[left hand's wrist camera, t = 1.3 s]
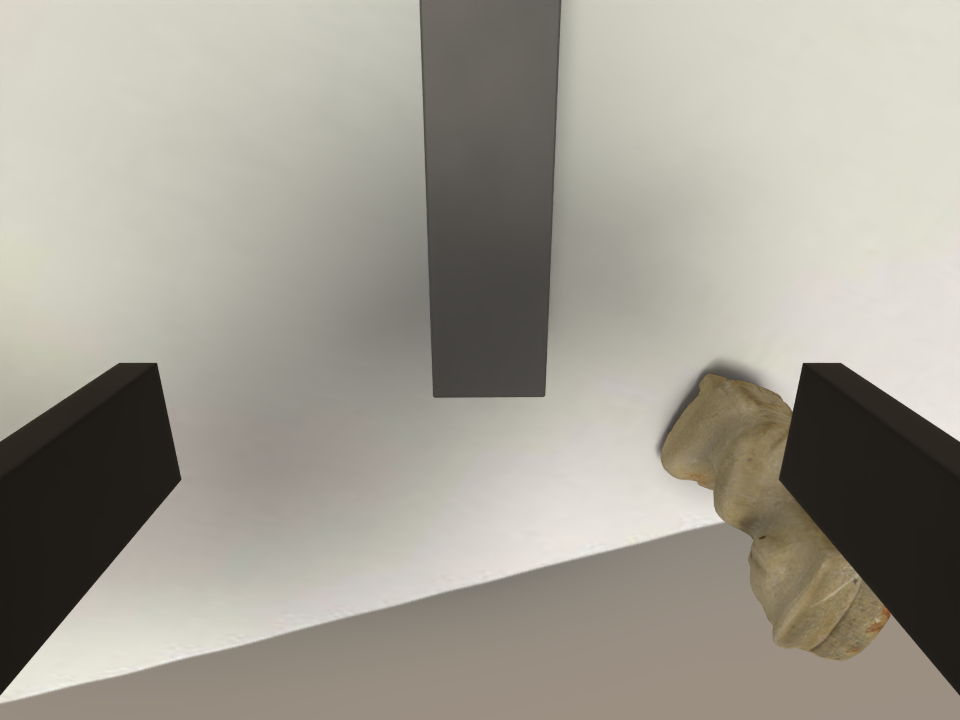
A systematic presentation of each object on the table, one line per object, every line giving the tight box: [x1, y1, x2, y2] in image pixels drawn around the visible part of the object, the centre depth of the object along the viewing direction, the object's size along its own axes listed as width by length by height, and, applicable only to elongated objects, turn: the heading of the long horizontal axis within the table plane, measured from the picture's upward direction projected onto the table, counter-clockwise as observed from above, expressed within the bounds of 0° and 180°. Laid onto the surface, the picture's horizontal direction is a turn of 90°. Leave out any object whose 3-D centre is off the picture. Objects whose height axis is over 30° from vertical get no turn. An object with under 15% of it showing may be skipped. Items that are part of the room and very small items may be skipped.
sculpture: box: [661, 374, 891, 661], centre depth 29 cm, size 6×7×15 cm
